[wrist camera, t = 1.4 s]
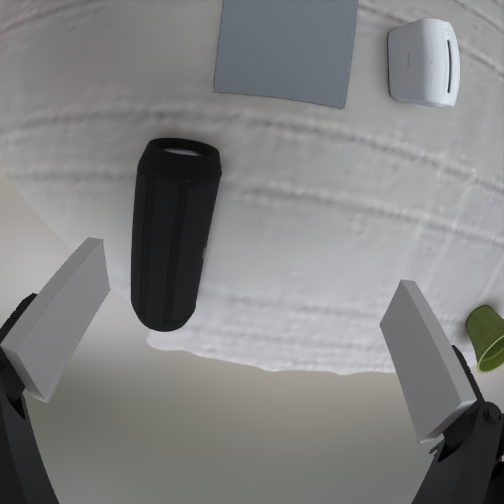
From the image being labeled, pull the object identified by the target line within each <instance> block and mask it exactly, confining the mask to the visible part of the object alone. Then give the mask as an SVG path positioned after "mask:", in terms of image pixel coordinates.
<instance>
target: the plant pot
mask: <svg viewBox="0 0 504 504" xmlns="http://www.w3.org/2000/svg"><path fill="white" fill-rule="evenodd" d="M466 328H467V331H468V333H469V336H470V339H471V342H472V345H473V348H474V351H475V354H476V359H477V363H478V364H477V370H478V372H480V373H488V372H491V371H493V370H495V369H497V368H499V367H500V366H502V365H503V364H504V319H503V318H502V317H500V316H499V315H498V314H497V313H496V312H495V311H494V310H493V309H492V308H491V307H490V306H488V305H484V306H483V307H480V308H477V309H476V310H475V311H474V312H473V313H472V314H471V315H470V316H469V318H468V320H467V325H466Z"/></svg>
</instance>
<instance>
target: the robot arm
mask: <svg viewBox="0 0 504 504" xmlns="http://www.w3.org/2000/svg"><path fill="white" fill-rule="evenodd" d="M109 291H110V287H109V280H108V274H107V268H106V261H105V253H104V245H103V239H96V238H89V237H88V238H87V239H86V240H85V241H84V242H83V243H82V244H81V245H80V247H79V248H78V249H77V250H76V251H75V252H74V253H73V254H72V255H71V256H70V257H69V259H68V260H67V261H66V262H65V263H64V264H63V265H62V266H61V268H60V269H59V270H58V271H57V272H56V273H55V274H54V276H53V277H52V278H51V279H50V281H49V282H48V283H47V284H46V285H45V286H44V287H43V289H42V290H41V291H40V293H39V294H35V293H32V294H31V295H29V296H28V297H26V298H25V299H24V300H22V302H21V303H20V304H19V306H18V307H17V308H16V311H14V312H13V313H12V314H11V315H10V318H8V319H7V321H6V322H5V323H4V325H3V326H2V328H1V329H0V504H59V502H58V500H57V497H56V495H55V493H54V490H53V488H52V486H51V483H50V480H49V478H48V475H47V473H46V470H45V467H44V464H43V462H42V459H41V456H40V453H39V450H38V447H37V444H36V440H35V437H34V434H33V430H32V426H31V422H30V418H29V415H28V410H27V406H26V401H25V398H24V396H23V394H22V393H23V390H24V389H25V387H26V389H27V390H28V391H29V393H30V395H31V396H32V397H35V398H37V399H39V400H41V401H44V402H46V403H48V402H49V400H50V398H51V395H52V393H53V391H54V389H55V387H56V385H57V383H58V381H59V379H60V377H61V375H62V373H63V372H64V369H65V368H66V366H67V364H68V362H69V360H70V358H71V356H72V355H73V353H74V351H75V349H76V347H77V345H78V343H79V342H80V340H81V338H82V336H83V335H84V333H85V331H86V330H87V327H88V326H89V324H90V323H91V321H92V319H93V317H94V316H95V314H96V312H97V311H98V309H99V307H100V306H101V304H102V302H103V301H104V299H105V298H106V296H107V294H108V293H109ZM380 327H381V330H382V333H383V335H384V338H385V341H386V343H387V346H388V349H389V352H390V355H391V357H392V360H393V363H394V366H395V369H396V372H397V375H398V378H399V381H400V384H401V387H402V390H403V393H404V396H405V400H406V403H407V406H408V409H409V413H410V416H411V419H412V423H413V427H414V430H415V434H416V437H417V441H418V443H423V442H428V441H433V440H435V439H436V438H437V437H438V436H439V435H440V434H441V433H443V435H444V439H443V440H442V441H441V442H439V443H438V444H437V445H436V446H435V447H433V448H432V449H431V450H430V452H429V453H430V454H431V453H433V452H434V451H435V450H436V449H437V452H436V454H434V459H433V461H432V463H431V465H430V468H429V470H428V472H427V474H426V476H425V478H424V480H423V482H422V484H421V487H420V488H419V490H418V492H417V494H416V496H415V498H414V500H413V502H412V504H504V461H503V462H502V456H503V455H504V414H502V413H501V411H500V409H499V408H498V406H496V405H495V404H494V403H491V402H485V400H484V398H483V396H482V394H481V392H480V390H479V387H478V385H477V383H476V381H475V379H474V377H473V375H472V373H471V371H470V368H469V366H467V362H466V360H465V359H464V357H463V355H462V353H461V352H460V351H459V350H458V349H457V348H456V347H455V345H451V344H450V342H449V340H448V338H447V337H446V335H445V333H444V331H443V329H442V327H441V325H440V324H439V322H438V320H437V318H436V316H435V315H434V313H433V311H432V309H431V308H430V306H429V304H428V303H427V301H426V299H425V298H424V296H423V294H422V292H421V291H420V289H419V288H418V286H417V284H416V283H415V281H409V280H401V281H400V283H399V285H398V288H397V290H396V292H395V294H394V296H393V298H392V301H391V303H390V305H389V307H388V309H387V311H386V313H385V315H384V317H383V319H382V321H381V323H380Z"/></svg>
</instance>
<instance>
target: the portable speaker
mask: <svg viewBox="0 0 504 504" xmlns="http://www.w3.org/2000/svg"><path fill="white" fill-rule="evenodd" d="M221 175H222V171H221V163H220V157H219V152H218V150H217V149H216V148H214V147H212V146H210V145H207V144H204V143H201V142H197V141H193V140H188V139H180V138H158V139H154V140H151V141H150V142H149V143H148V145H147V147H146V149H145V151H144V153H143V155H142V157H141V159H140V161H139V165H138V168H137V178H136V188H135V199H134V212H133V228H132V250H131V303H132V306H133V309H134V311H135V312H136V314H137V316H138V318H139V320H140V321H141V322H142V323H143V324H144V325H145V326H147V327H148V328H150V329H153V330H156V331H161V332H169V331H174V330H177V329H179V328H181V327H182V326H183V325H185V323H186V322H187V321H188V320H189V318H190V317H191V316H192V314H193V313H194V311H195V307H196V299H197V293H198V288H199V282H200V277H201V271H202V266H203V260H204V256H205V251H206V246H207V240H208V234H209V229H210V224H211V220H212V215H213V210H214V205H215V200H216V196H217V191H218V186H219V182H220V177H221Z"/></svg>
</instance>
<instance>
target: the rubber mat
mask: <svg viewBox="0 0 504 504" xmlns="http://www.w3.org/2000/svg"><path fill="white" fill-rule="evenodd" d="M357 7H358V0H224V5H223V12H222V20H221V28H220V36H219V44H218V53H217V62H216V72H215V82H214V92H225V93H238V94H250V95H259V96H268V97H276V98H284V99H291V100H298V101H304V102H310V103H316V104H321V105H327V106H332V107H337V108H342V109H345V103H346V96H347V90H348V83H349V76H350V69H351V61H352V53H353V45H354V36H355V27H356V17H357Z"/></svg>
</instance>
